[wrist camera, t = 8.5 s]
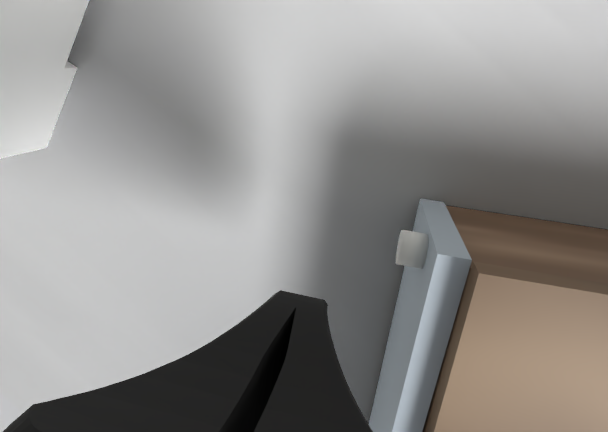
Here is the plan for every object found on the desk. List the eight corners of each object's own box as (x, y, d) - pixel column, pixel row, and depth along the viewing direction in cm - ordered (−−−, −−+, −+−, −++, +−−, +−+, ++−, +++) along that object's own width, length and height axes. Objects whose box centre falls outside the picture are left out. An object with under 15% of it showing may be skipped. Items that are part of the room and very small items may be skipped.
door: (369, 499, 19) (366, 622, 15) (337, 491, 19) (325, 611, 15) (444, 202, 14) (471, 260, 10) (399, 194, 14) (407, 248, 10)
